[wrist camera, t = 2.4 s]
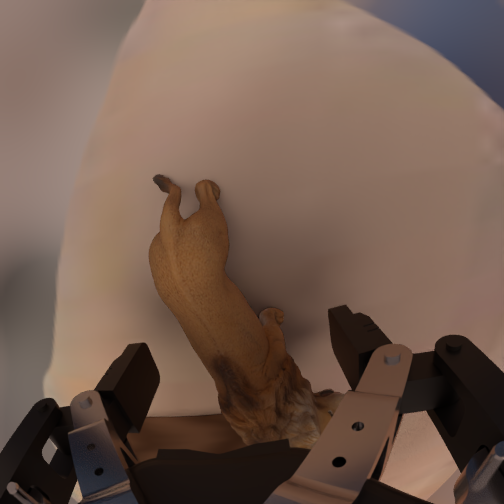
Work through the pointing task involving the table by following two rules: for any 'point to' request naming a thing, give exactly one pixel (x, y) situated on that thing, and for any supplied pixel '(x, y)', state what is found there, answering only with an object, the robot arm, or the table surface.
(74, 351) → the table surface
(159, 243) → the lion figurine
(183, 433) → the wooden box
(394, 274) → the table surface
